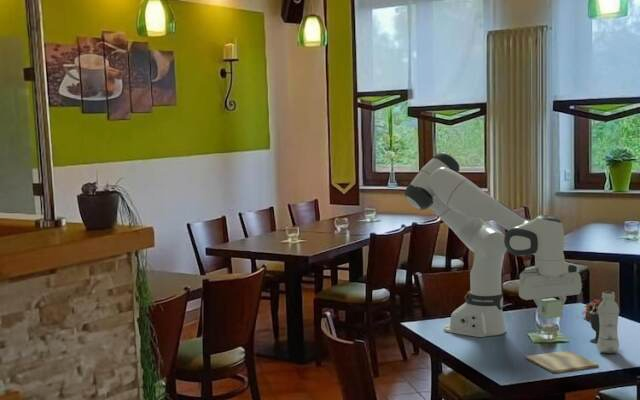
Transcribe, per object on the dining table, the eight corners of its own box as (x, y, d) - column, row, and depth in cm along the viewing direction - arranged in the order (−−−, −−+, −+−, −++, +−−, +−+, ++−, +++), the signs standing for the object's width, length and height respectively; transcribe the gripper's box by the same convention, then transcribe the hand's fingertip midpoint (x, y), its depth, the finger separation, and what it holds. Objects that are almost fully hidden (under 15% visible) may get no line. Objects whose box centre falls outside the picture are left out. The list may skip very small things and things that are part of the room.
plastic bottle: (597, 349, 259) (597, 290, 257) (619, 350, 256) (619, 291, 254) (596, 354, 253) (596, 294, 251) (619, 356, 250) (619, 295, 248)
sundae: (609, 344, 263) (609, 301, 262) (588, 344, 265) (588, 300, 263) (606, 339, 270) (606, 296, 268) (586, 338, 271) (586, 296, 270)
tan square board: (553, 373, 236) (553, 370, 236) (525, 358, 251) (525, 356, 251) (598, 366, 240) (598, 364, 240) (568, 352, 256) (568, 350, 256)
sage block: (547, 318, 240) (547, 302, 240) (539, 314, 245) (538, 299, 245) (561, 316, 241) (561, 301, 241) (553, 313, 246) (553, 297, 246)
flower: (613, 312, 298) (601, 295, 300) (612, 313, 290) (599, 295, 292) (591, 325, 301) (579, 308, 303) (589, 326, 292) (577, 308, 295)
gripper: (524, 272, 236) (525, 316, 238) (584, 266, 241) (584, 309, 243) (514, 268, 242) (515, 311, 244) (572, 263, 247) (573, 305, 249)
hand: (550, 310), depth 243 cm, fingers closed on sage block, 5 cm apart
